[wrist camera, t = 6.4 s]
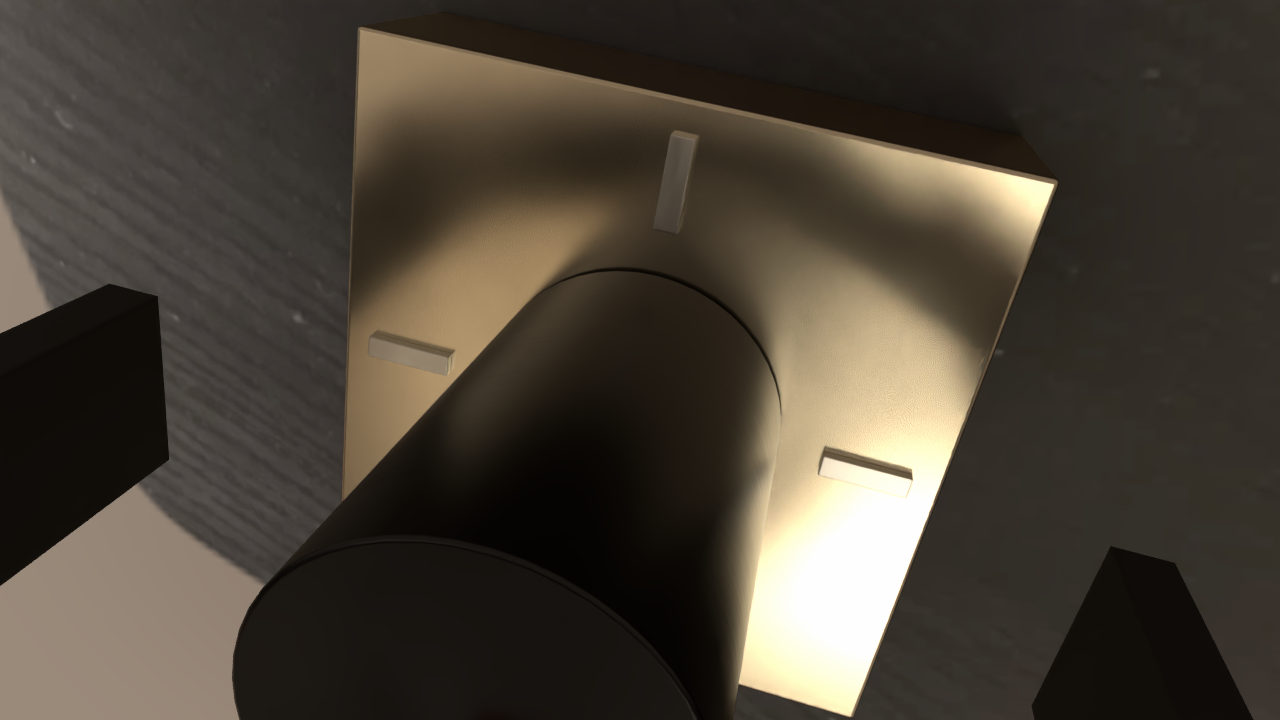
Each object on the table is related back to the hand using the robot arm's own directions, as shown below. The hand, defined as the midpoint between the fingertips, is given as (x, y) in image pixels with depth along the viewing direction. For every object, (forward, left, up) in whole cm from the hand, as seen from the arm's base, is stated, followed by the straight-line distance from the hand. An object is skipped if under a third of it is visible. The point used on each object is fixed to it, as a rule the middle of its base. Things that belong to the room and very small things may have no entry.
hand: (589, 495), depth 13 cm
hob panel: (0, 0, -6) cm, 6 cm away
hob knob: (0, 0, -3) cm, 3 cm away
